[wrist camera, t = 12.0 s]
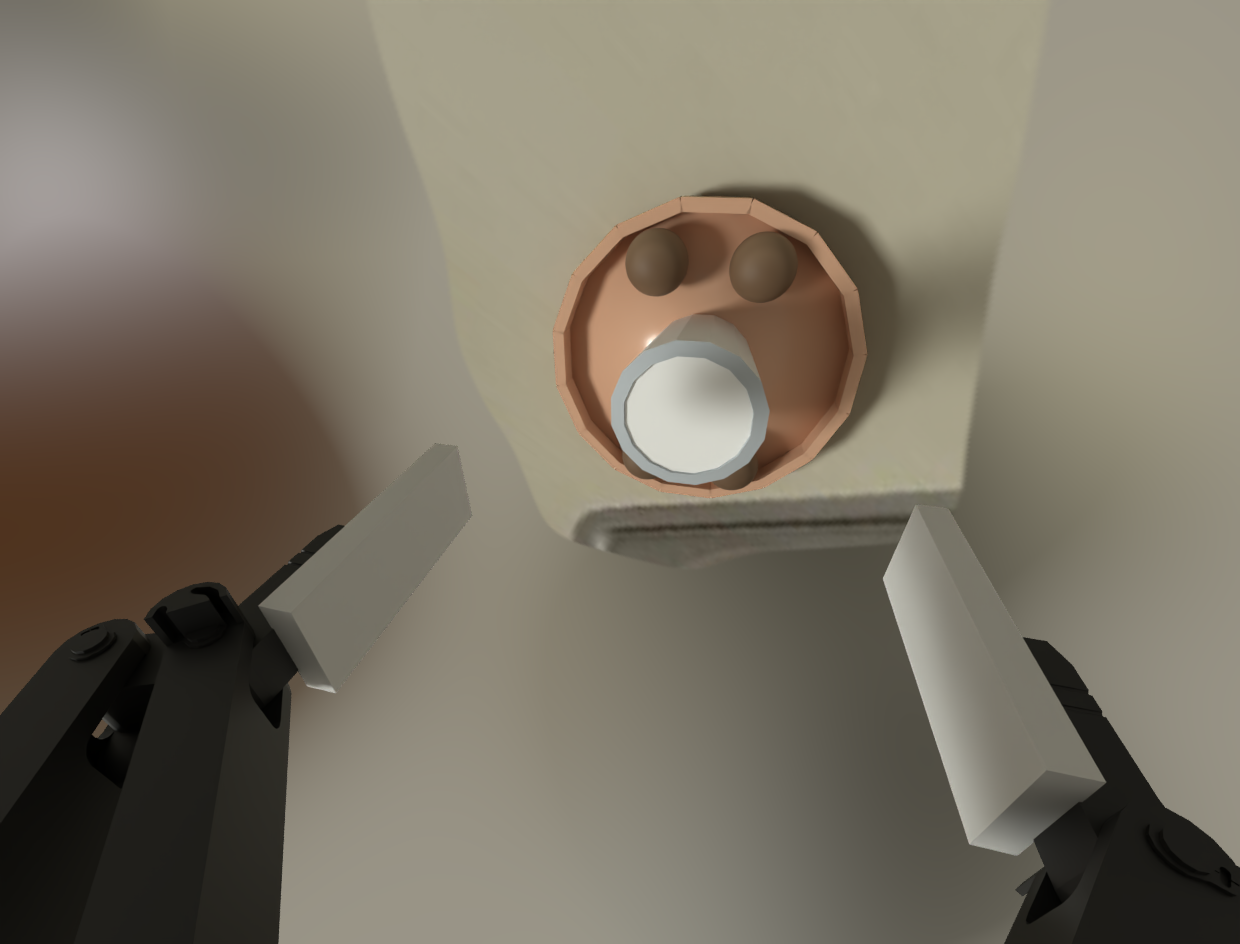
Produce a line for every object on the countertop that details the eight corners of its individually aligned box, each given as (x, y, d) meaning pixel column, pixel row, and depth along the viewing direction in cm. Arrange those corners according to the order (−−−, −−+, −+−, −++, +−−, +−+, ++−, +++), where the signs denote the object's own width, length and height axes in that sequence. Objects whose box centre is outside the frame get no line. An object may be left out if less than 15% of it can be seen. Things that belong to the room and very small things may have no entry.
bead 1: (628, 417, 29) (617, 441, 26) (677, 423, 28) (670, 447, 26) (627, 460, 30) (616, 485, 28) (673, 465, 30) (667, 492, 27)
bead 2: (632, 223, 23) (619, 229, 21) (694, 225, 23) (688, 232, 20) (631, 288, 25) (618, 300, 22) (688, 291, 24) (682, 304, 22)
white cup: (792, 354, 25) (806, 409, 19) (708, 443, 29) (699, 511, 23) (688, 272, 24) (669, 304, 18) (615, 375, 28) (581, 429, 22)
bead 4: (734, 227, 22) (733, 233, 20) (800, 229, 22) (808, 236, 19) (726, 293, 24) (724, 307, 22) (787, 297, 23) (793, 311, 21)
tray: (559, 192, 24) (544, 193, 22) (898, 199, 21) (912, 201, 20) (572, 461, 33) (562, 478, 31) (815, 492, 30) (820, 512, 28)
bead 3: (709, 426, 28) (705, 451, 26) (761, 432, 28) (763, 458, 25) (704, 469, 30) (700, 496, 27) (753, 475, 29) (754, 504, 27)
